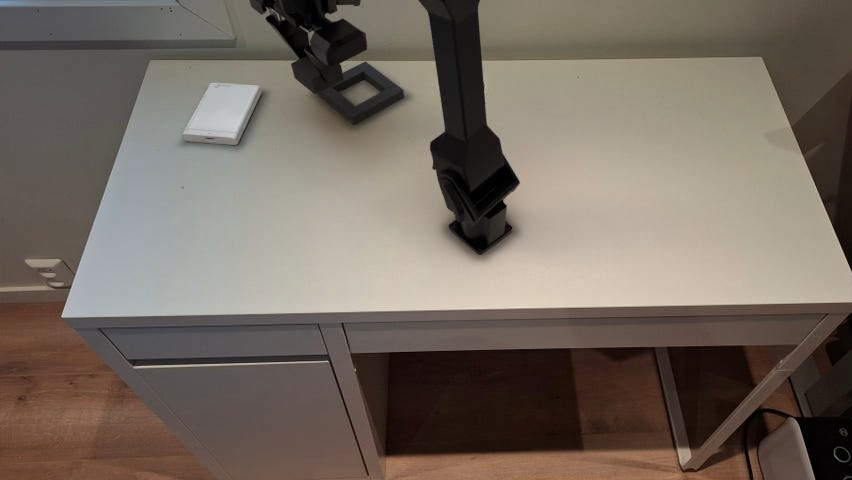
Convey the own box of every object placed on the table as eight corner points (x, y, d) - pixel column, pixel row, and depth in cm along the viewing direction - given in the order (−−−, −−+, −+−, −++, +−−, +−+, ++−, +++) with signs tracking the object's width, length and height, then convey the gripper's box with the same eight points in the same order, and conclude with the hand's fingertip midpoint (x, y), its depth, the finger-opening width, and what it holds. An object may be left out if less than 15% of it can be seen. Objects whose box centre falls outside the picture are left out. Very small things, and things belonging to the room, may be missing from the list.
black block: (343, 79, 86) (341, 65, 84) (315, 94, 84) (311, 80, 82) (323, 64, 88) (320, 49, 86) (294, 78, 86) (290, 63, 84)
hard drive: (210, 81, 97) (181, 133, 90) (259, 85, 97) (234, 137, 90) (213, 90, 99) (185, 141, 92) (262, 93, 99) (238, 145, 91)
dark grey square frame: (404, 97, 99) (403, 89, 98) (354, 125, 95) (352, 117, 93) (366, 68, 103) (365, 61, 102) (316, 94, 99) (314, 86, 98)
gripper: (394, -29, 73) (404, 79, 85) (304, -84, 80) (325, 23, 93) (318, 5, 68) (340, 114, 81) (230, -57, 75) (263, 52, 88)
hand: (318, 72), depth 86 cm, fingers closed on black block, 5 cm apart
